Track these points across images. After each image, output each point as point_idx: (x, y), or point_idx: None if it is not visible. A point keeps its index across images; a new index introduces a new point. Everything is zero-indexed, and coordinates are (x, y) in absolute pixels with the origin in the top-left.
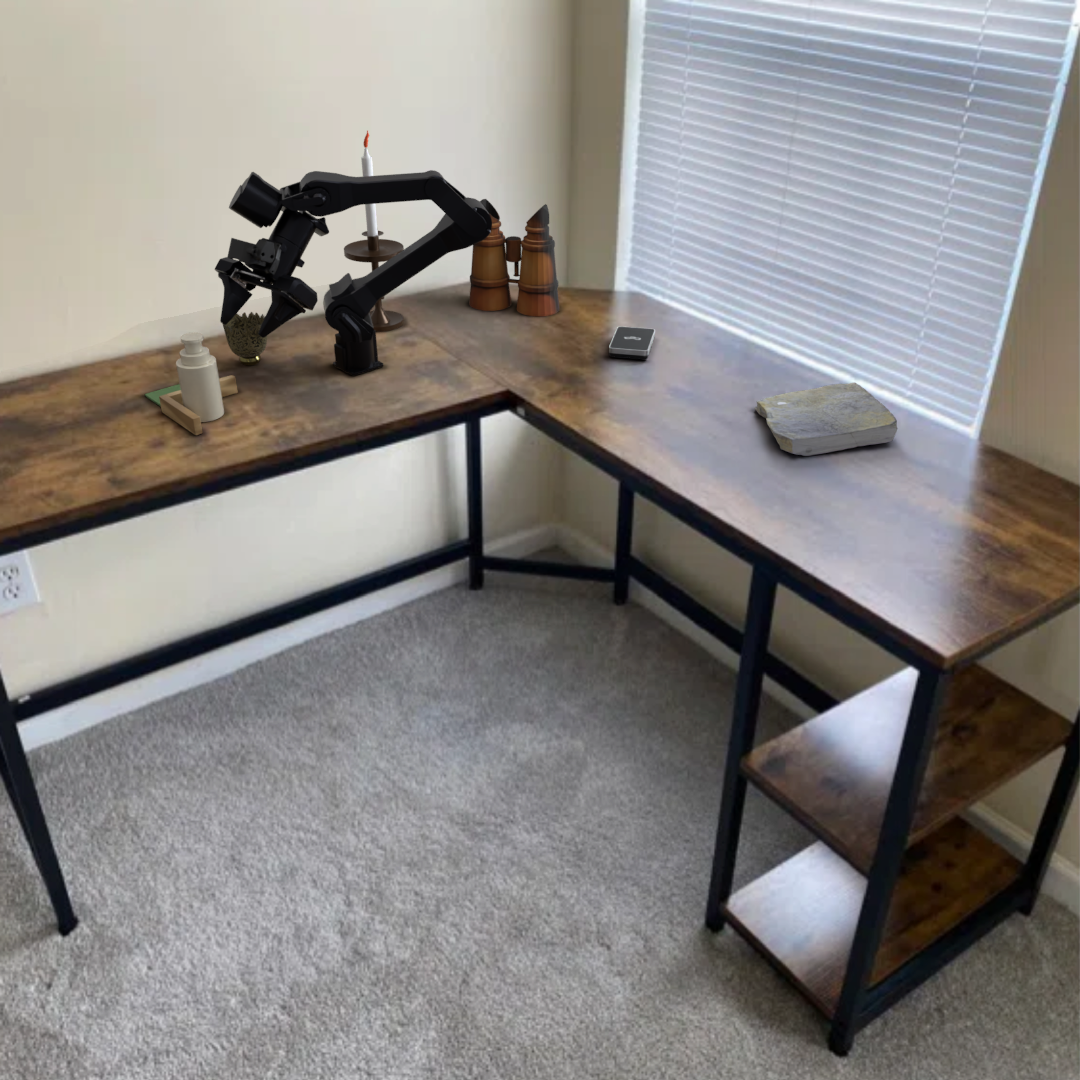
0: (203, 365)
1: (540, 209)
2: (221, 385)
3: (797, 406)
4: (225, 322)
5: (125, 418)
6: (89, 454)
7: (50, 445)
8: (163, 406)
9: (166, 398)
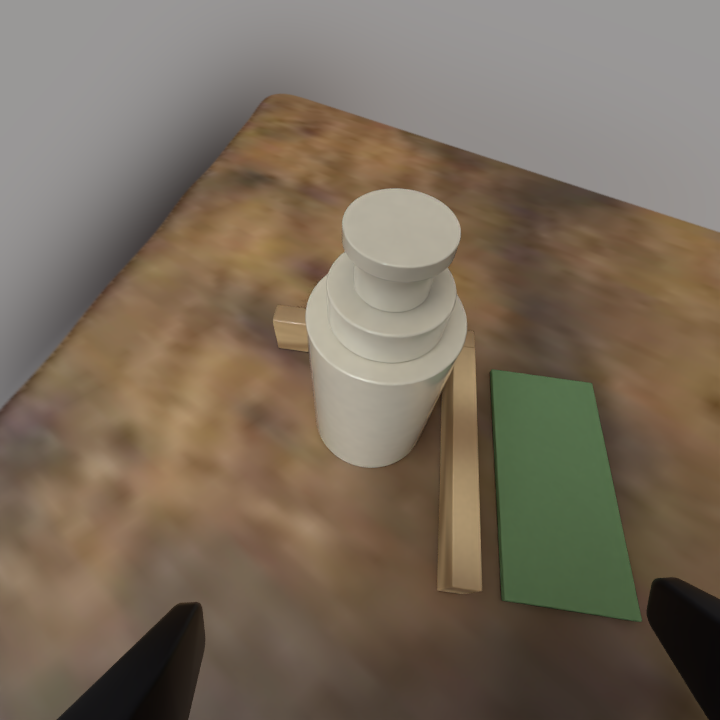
0: (321, 304)
1: None
2: (448, 519)
3: None
4: (660, 619)
5: (487, 299)
6: None
7: (464, 188)
8: None
9: None
